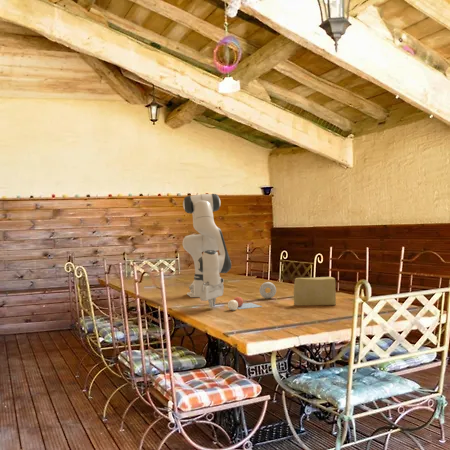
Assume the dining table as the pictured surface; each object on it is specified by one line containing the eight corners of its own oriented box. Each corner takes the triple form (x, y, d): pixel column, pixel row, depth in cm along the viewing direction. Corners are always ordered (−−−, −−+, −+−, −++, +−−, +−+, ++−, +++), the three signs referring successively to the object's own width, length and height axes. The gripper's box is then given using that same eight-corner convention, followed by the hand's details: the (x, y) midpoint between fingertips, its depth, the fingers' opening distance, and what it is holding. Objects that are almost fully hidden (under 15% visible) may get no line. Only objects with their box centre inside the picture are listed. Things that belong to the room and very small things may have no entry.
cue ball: (240, 308, 270) (235, 301, 274) (239, 303, 266) (234, 296, 270) (231, 314, 269) (226, 307, 273) (230, 308, 265) (225, 301, 269)
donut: (259, 299, 304) (259, 282, 304) (259, 298, 307) (259, 281, 307) (276, 298, 304) (276, 282, 304) (276, 297, 307) (275, 281, 307)
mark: (228, 305, 285) (228, 305, 285) (250, 303, 291) (250, 302, 291) (239, 309, 272) (239, 308, 272) (262, 306, 278) (262, 306, 278)
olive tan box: (295, 307, 275) (294, 279, 275) (292, 304, 285) (291, 277, 284) (336, 305, 276) (335, 277, 275) (332, 302, 285) (331, 275, 285)
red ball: (231, 296, 281) (240, 295, 283) (231, 306, 281) (240, 305, 283) (235, 298, 276) (244, 297, 278) (235, 308, 276) (244, 307, 278)
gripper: (207, 283, 262) (208, 310, 263) (225, 278, 281) (226, 303, 281) (196, 283, 265) (197, 309, 265) (215, 278, 284) (215, 303, 284)
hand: (212, 306), depth 273 cm, fingers closed
